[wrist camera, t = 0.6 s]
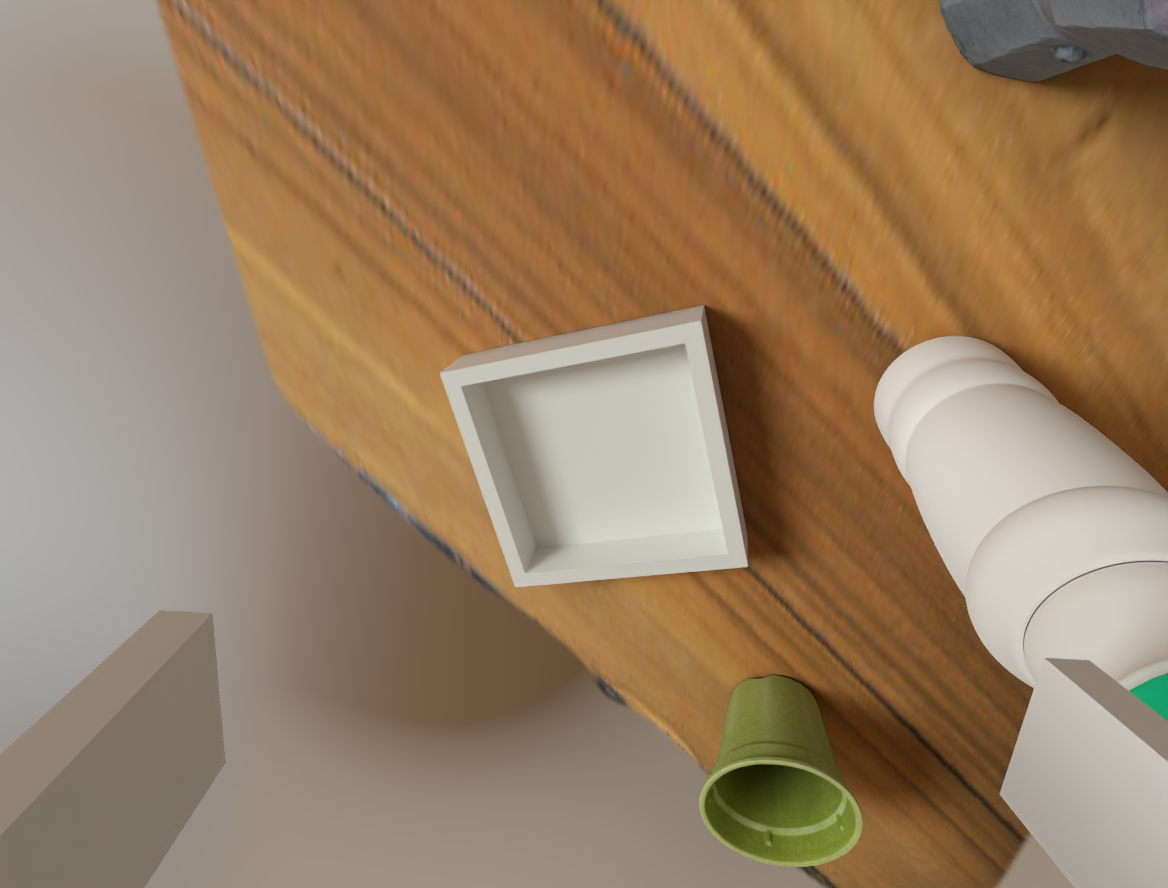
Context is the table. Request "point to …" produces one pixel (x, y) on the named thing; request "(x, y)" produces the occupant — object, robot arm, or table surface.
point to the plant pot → (779, 780)
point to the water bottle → (1032, 515)
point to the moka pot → (1056, 34)
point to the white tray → (604, 451)
